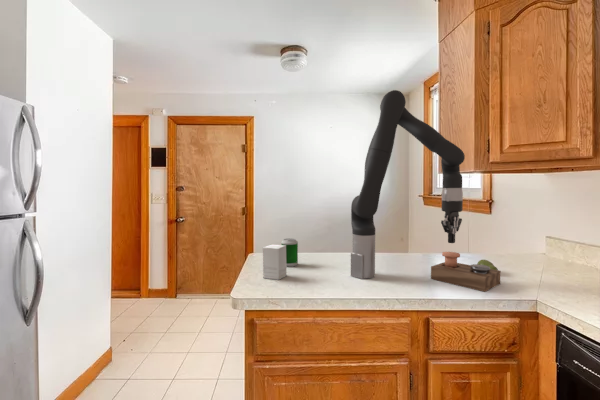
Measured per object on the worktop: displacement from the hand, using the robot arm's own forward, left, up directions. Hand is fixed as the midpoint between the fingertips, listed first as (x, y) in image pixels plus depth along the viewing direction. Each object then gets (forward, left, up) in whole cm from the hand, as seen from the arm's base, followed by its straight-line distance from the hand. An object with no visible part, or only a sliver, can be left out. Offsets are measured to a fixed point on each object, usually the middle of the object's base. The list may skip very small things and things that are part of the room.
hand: (451, 242), depth 129 cm
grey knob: (0, -11, -13) cm, 17 cm away
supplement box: (-53, +47, -15) cm, 72 cm away
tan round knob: (0, 0, -10) cm, 10 cm away
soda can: (-37, +58, -15) cm, 70 cm away
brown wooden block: (0, -5, -14) cm, 15 cm away
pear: (+19, -7, -15) cm, 25 cm away
